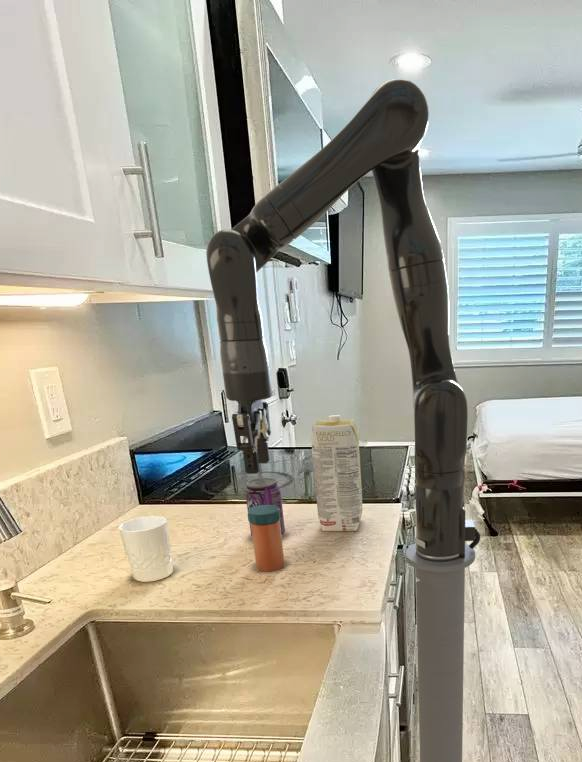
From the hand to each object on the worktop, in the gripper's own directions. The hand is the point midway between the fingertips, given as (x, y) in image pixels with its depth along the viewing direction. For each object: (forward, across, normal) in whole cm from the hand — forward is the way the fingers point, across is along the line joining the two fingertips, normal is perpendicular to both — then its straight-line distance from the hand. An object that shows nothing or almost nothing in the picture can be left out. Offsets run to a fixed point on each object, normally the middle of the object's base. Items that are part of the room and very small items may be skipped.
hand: (258, 467), depth 100 cm
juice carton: (+19, +20, -11) cm, 30 cm away
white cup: (+19, -3, +21) cm, 28 cm away
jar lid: (+8, 0, 0) cm, 8 cm away
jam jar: (+19, 0, 0) cm, 19 cm away
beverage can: (+19, +15, +4) cm, 25 cm away
